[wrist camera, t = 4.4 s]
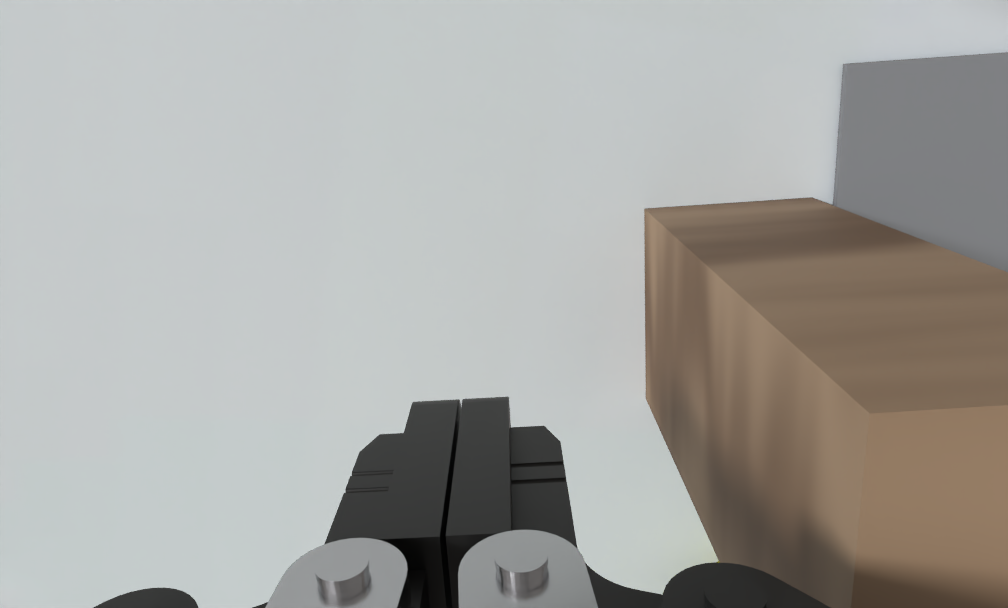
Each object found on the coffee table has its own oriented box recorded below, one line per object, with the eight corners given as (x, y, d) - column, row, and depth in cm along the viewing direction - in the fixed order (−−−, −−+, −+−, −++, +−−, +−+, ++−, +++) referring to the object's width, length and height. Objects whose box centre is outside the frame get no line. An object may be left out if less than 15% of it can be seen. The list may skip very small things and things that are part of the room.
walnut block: (644, 208, 17) (869, 413, 7) (812, 197, 17) (1307, 386, 7) (646, 398, 19) (830, 810, 8) (799, 388, 19) (1187, 790, 8)
